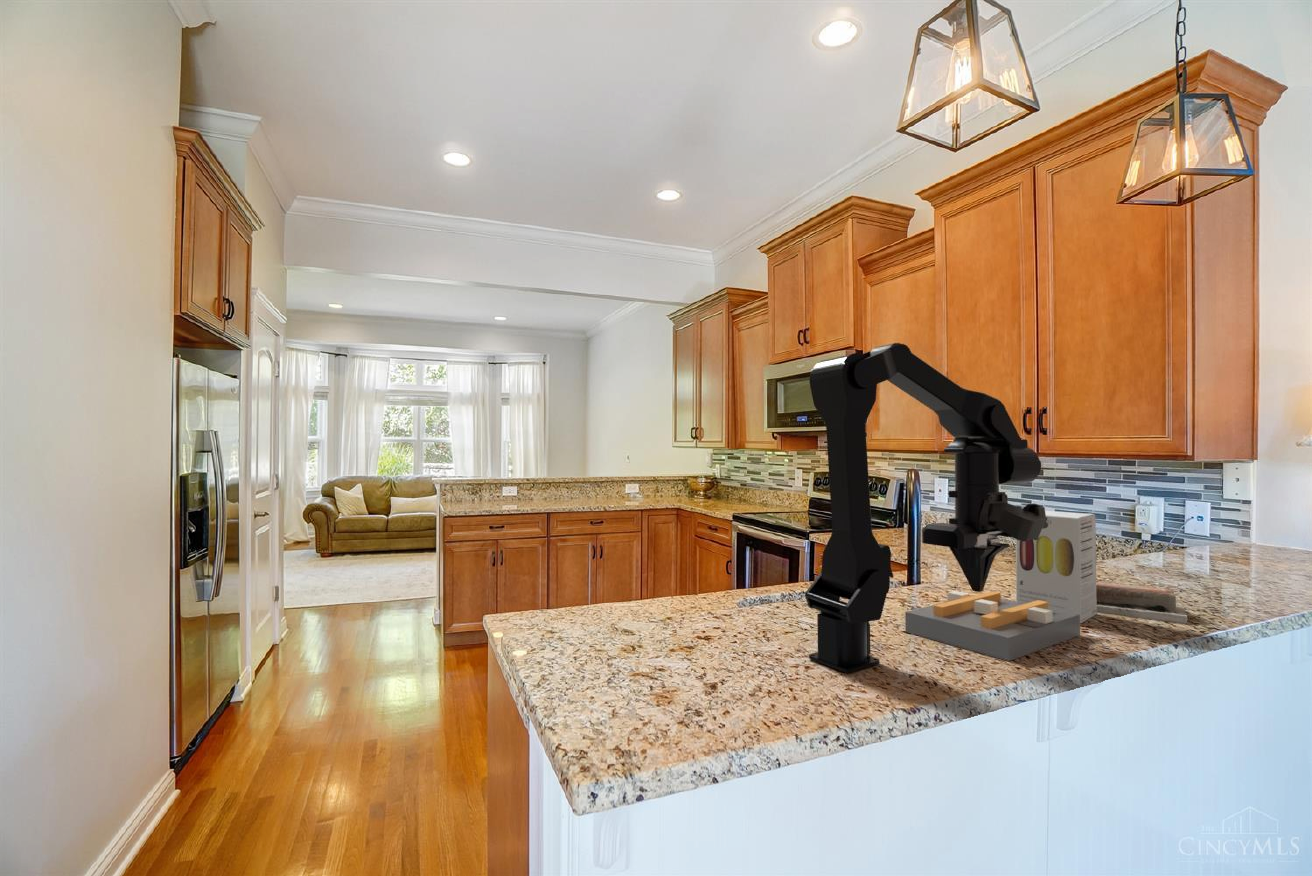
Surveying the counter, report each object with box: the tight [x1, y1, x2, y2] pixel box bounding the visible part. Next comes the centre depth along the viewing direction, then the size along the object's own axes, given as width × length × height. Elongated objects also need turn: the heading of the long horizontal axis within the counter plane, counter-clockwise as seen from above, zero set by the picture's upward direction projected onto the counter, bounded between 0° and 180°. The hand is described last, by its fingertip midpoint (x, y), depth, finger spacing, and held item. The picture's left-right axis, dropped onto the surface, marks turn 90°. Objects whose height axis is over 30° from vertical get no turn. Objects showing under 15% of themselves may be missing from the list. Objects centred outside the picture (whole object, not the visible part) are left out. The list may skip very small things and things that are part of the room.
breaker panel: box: [904, 590, 1081, 662], centre depth 88 cm, size 20×15×5 cm
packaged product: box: [1096, 580, 1189, 625], centre depth 102 cm, size 18×5×10 cm
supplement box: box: [1015, 510, 1098, 624], centre depth 99 cm, size 10×9×17 cm
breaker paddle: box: [974, 599, 998, 615], centre depth 88 cm, size 2×2×2 cm
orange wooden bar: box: [932, 591, 1002, 617], centre depth 91 cm, size 16×1×1 cm, turn 122°
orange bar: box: [981, 600, 1048, 629], centre depth 85 cm, size 16×1×1 cm, turn 122°
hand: (977, 591), depth 87 cm, fingers closed
